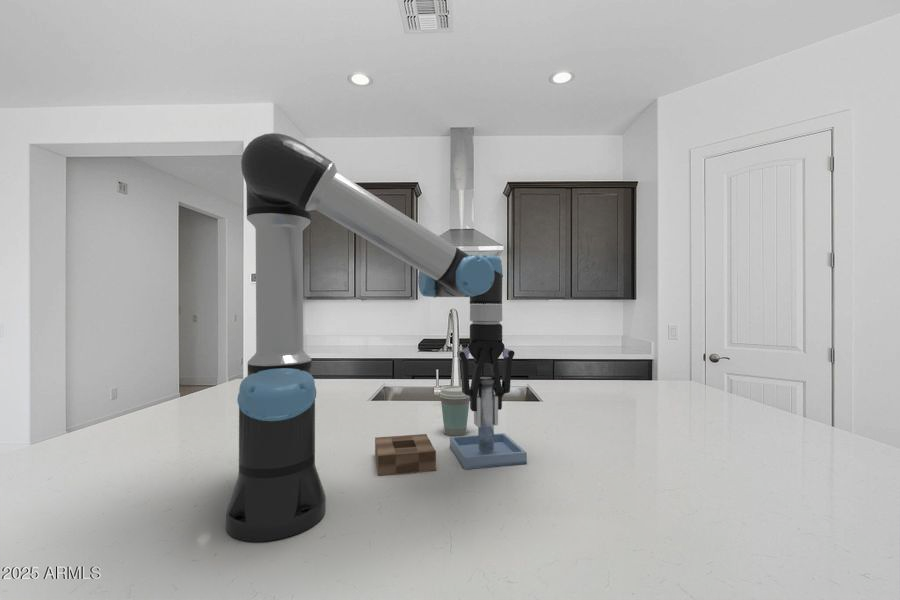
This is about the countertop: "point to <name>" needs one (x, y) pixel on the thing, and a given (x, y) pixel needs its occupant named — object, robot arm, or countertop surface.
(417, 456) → the socket block
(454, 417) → the coffee cup
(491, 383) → the pin
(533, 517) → the countertop surface
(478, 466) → the tray
